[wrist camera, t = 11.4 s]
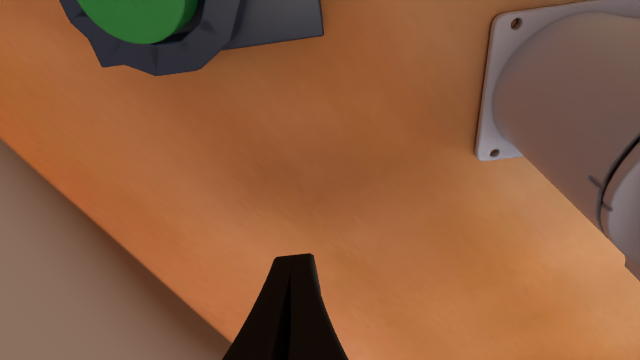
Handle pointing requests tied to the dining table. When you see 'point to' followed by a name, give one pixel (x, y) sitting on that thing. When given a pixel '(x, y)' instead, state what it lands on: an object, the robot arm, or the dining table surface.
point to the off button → (140, 17)
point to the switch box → (205, 33)
